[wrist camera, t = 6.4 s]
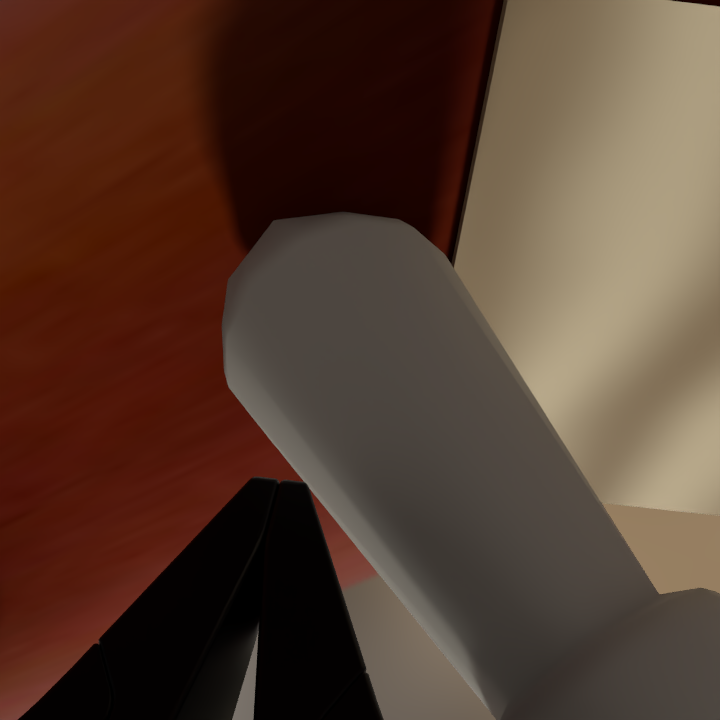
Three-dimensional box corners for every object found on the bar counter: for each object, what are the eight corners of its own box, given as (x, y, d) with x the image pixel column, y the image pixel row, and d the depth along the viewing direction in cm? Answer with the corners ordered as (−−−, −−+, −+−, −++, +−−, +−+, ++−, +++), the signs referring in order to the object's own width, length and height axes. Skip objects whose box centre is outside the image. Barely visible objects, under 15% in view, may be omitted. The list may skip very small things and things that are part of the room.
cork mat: (410, 471, 20) (410, 482, 20) (507, -20, 13) (511, -20, 13) (821, 516, 21) (830, 527, 20) (1145, 59, 13) (1170, 62, 13)
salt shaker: (435, 191, 16) (1014, 650, 7) (368, 366, 19) (719, 841, 10) (216, 158, 13) (774, 900, 4) (177, 375, 16) (450, 1068, 7)
